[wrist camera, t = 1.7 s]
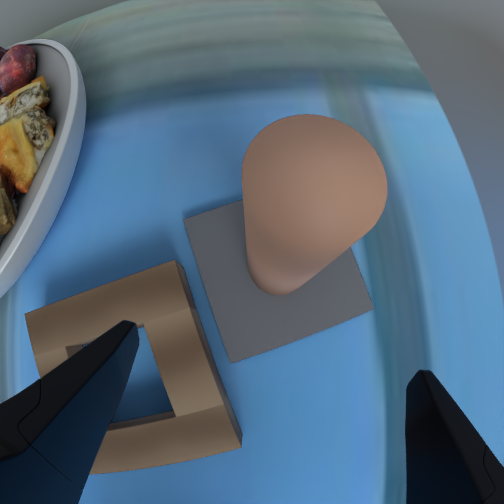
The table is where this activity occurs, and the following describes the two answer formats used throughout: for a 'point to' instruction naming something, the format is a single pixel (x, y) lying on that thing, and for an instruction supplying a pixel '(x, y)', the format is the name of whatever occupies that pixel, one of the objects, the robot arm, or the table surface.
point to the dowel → (307, 198)
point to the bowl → (35, 146)
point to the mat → (259, 302)
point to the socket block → (167, 359)
